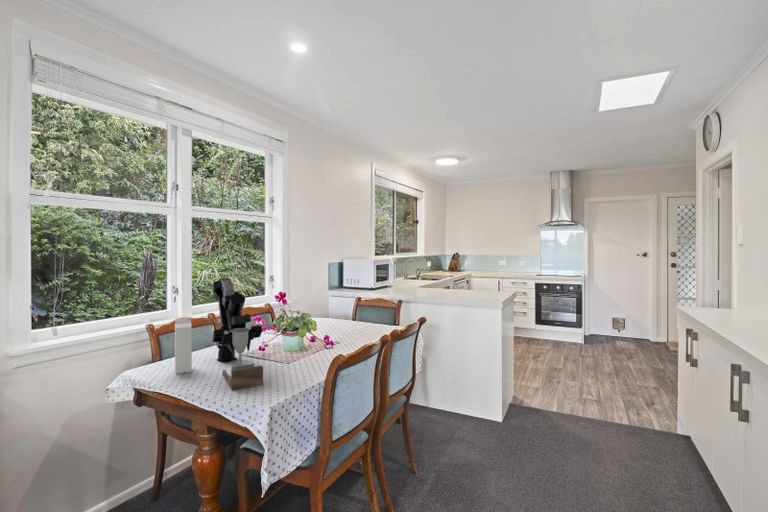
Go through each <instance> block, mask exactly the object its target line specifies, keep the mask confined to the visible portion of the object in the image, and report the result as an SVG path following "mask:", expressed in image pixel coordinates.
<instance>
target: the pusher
mask: <svg viewBox="0 0 768 512" xmlns="http://www.w3.org/2000/svg"><path fill="white" fill-rule="evenodd" d="M248 367H255V363H248V364H247V363H246V364H241V365H239V364H238V365H232V366H231V370H234V369H241V368H248ZM231 370H230V371H231Z"/></svg>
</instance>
